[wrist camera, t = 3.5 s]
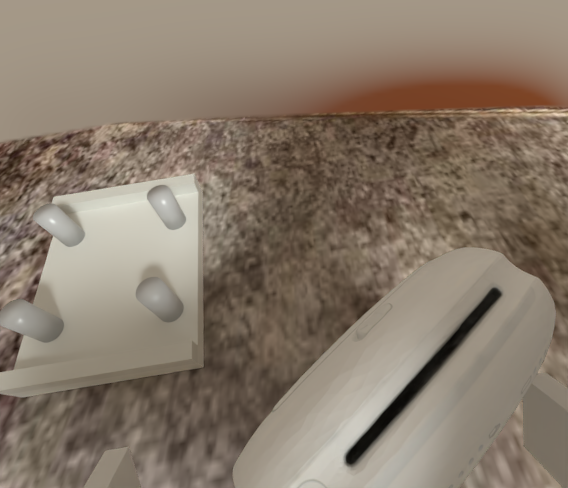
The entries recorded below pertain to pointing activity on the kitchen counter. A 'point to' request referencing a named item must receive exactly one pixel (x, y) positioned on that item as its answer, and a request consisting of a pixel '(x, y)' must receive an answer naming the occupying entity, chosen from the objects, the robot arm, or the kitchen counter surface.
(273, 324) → the kitchen counter surface
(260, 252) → the kitchen counter surface
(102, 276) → the white pegged stand
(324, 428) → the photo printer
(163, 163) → the kitchen counter surface
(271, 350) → the kitchen counter surface
